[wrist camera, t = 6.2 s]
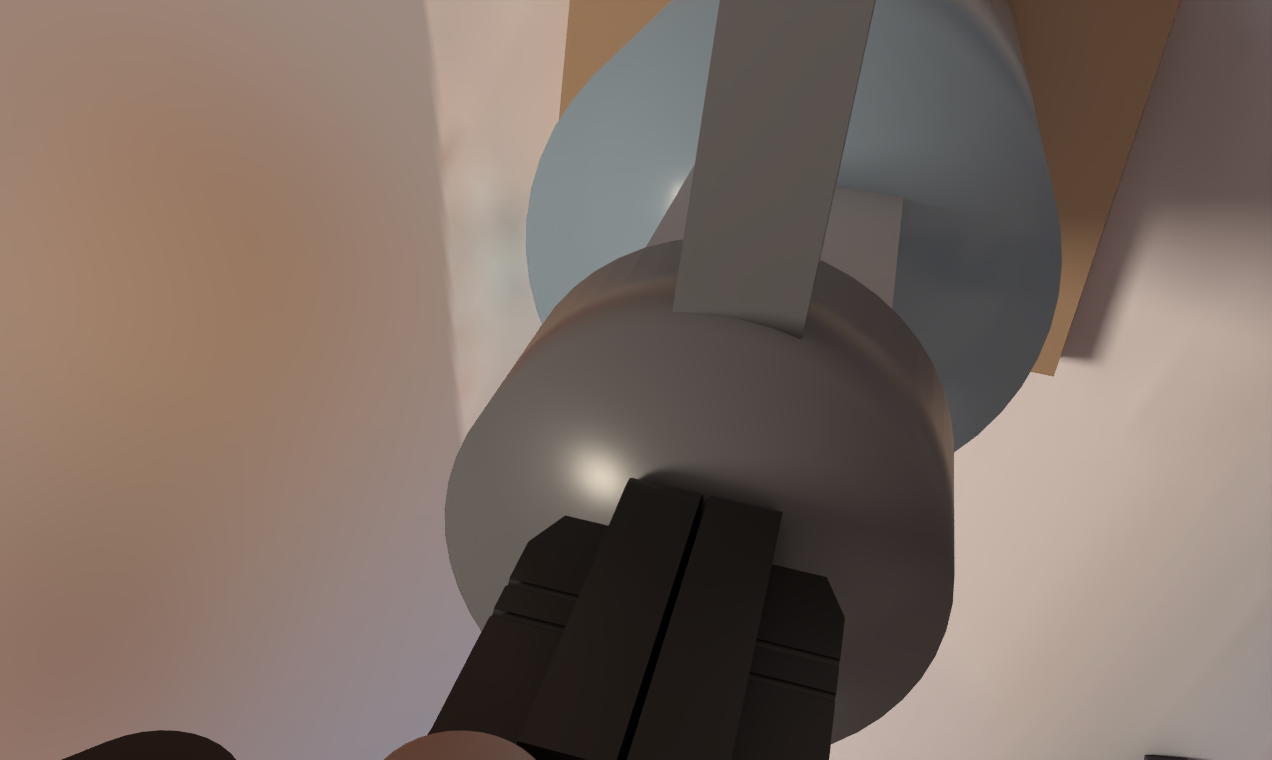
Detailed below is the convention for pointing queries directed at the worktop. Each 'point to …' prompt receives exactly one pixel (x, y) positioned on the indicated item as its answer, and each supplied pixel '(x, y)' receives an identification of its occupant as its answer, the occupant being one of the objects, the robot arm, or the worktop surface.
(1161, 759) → the bracket
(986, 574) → the worktop surface
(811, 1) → the grey dome cap
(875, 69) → the soap dispenser
